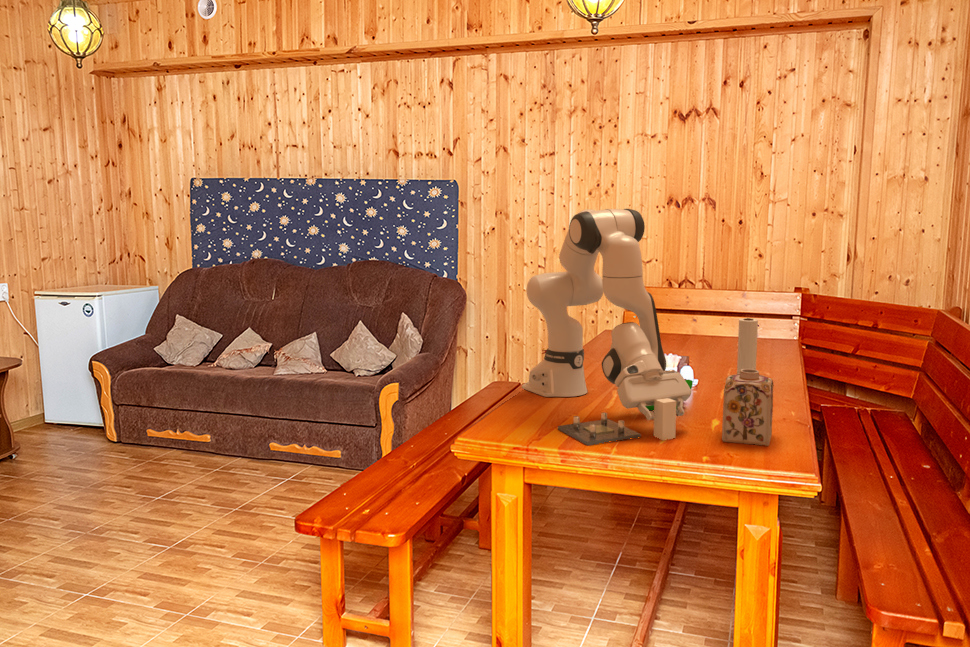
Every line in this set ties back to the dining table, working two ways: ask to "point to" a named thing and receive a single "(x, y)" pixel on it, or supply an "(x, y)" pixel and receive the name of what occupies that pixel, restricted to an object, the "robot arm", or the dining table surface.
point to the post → (665, 418)
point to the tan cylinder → (747, 344)
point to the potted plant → (676, 405)
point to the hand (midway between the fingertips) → (666, 416)
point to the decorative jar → (748, 408)
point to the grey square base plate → (598, 430)
